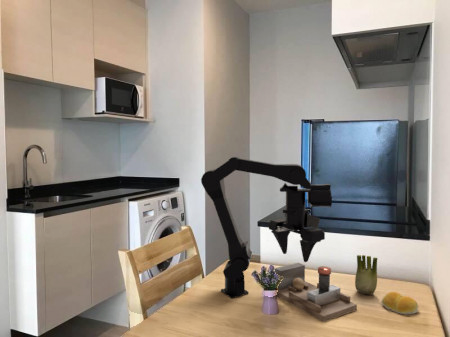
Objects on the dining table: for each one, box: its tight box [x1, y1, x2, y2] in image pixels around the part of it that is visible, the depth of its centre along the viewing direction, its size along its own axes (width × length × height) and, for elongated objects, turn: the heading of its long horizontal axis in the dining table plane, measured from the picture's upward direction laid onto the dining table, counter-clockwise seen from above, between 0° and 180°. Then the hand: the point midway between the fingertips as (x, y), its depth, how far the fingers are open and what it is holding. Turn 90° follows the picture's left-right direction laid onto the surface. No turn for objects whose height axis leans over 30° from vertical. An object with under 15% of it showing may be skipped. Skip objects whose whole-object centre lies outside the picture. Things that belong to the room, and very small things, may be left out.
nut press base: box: [273, 262, 358, 323], centre depth 108 cm, size 22×13×8 cm, turn 32°
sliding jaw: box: [307, 266, 341, 306], centre depth 104 cm, size 4×10×9 cm, turn 122°
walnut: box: [293, 278, 304, 290], centre depth 113 cm, size 4×4×4 cm
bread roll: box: [381, 291, 419, 315], centre depth 104 cm, size 8×9×4 cm
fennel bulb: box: [354, 254, 378, 296], centre depth 113 cm, size 6×5×12 cm
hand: (295, 257), depth 111 cm, fingers open, 9 cm apart
